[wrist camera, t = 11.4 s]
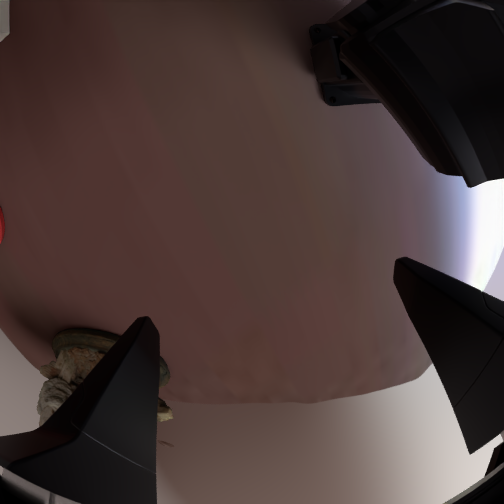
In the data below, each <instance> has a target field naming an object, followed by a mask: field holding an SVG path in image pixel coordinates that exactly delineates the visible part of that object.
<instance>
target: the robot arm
mask: <svg viewBox="0 0 504 504" xmlns="http://www.w3.org/2000/svg"><path fill="white" fill-rule="evenodd" d="M315 28H316V29H318V30H319V33H316V32H315V31H314V29H315ZM309 33H310V37H311V40H312V44H313V47H312V48H311V49H310V51H311V56H312V60H313V64H314V69H315V73H316V78H317V81H319V82H320V83H321V84H322V90H323V95H324V100H325V103H326V104H327V105H329V106H341V105H353V104H367V103H382V104H383V105H384V107H385V108H386V109H387V110H388V111H389V113H390V114H391V115H392V116H393V118H394V119H395V120H396V121H397V123H398V124H399V125H400V127H401V128H402V129H403V130H404V132H405V133H406V134H407V136H408V137H409V139H410V140H411V141H412V143H413V144H414V146H415V147H416V148H417V150H418V151H419V153H420V154H421V156H422V157H423V158H424V159H425V160H426V161H427V162H428V163H429V164H430V165H431V166H433V167H434V168H435V169H436V171H437V172H439V173H442V174H445V175H452V176H463V178H464V180H465V182H466V185H467V187H469V188H471V187H474V186H477V185H479V184H481V183H484V182H486V181H490V180H496V179H502V178H504V0H352V1H351V2H350V3H349V4H347V5H346V6H345V7H344V8H343V9H341V10H340V11H339V12H338V13H337V14H336V15H334V16H333V17H332V18H331V19H330V20H329V21H328V22H327V23H326V24H315V25H313V26H311V27H310V29H309ZM330 97H333V98H334V102H333V103H331V102H330ZM393 280H394V284H395V286H396V288H397V290H398V293H399V295H400V297H401V299H402V302H403V304H404V306H405V309H406V311H407V313H408V316H409V318H410V320H411V321H412V323H413V325H414V327H415V329H416V331H417V333H418V335H419V336H420V338H421V340H422V342H423V344H424V346H425V348H426V350H427V352H428V354H429V356H430V358H431V360H432V362H433V364H434V366H435V369H436V371H437V373H438V375H439V377H440V379H441V382H442V384H443V386H444V388H445V390H446V393H447V395H448V398H449V400H450V402H451V405H452V407H453V410H454V413H455V415H456V418H457V420H458V423H459V426H460V428H461V431H462V434H463V437H464V440H465V443H466V446H467V448H468V451H469V454H472V453H474V452H475V451H476V450H478V449H480V448H481V447H483V446H484V445H485V444H487V443H488V442H489V441H491V440H492V439H494V438H495V437H496V436H498V435H499V434H501V436H502V438H503V442H502V443H501V444H499V445H498V446H497V447H495V448H494V451H493V454H492V457H491V460H490V463H489V465H488V468H487V471H486V473H485V477H484V478H483V479H481V480H480V481H478V482H477V483H475V484H474V485H473V486H471V487H470V488H468V489H467V490H465V491H463V492H462V493H460V494H459V495H457V496H455V497H454V498H452V499H450V500H449V501H447V502H445V503H443V504H504V301H501V300H499V299H497V298H495V297H493V296H491V295H489V294H487V293H485V292H483V291H482V292H481V290H479V289H477V288H475V287H472V286H470V285H468V284H466V283H464V282H462V281H460V280H458V279H455V278H453V277H451V276H449V275H447V274H445V273H442V272H440V271H438V270H436V269H433V268H431V267H429V266H427V265H424V264H422V263H420V262H417V261H415V260H413V259H410V258H408V257H402V258H398V259H396V261H395V266H394V275H393ZM159 381H160V336H159V332H158V330H157V328H156V327H155V325H154V324H153V322H152V320H151V319H150V318H149V317H148V316H144V317H139V318H137V319H136V320H135V321H134V322H133V324H132V325H131V326H130V327H129V328H128V329H127V330H126V331H125V332H124V334H123V335H122V336H121V337H120V338H119V339H118V340H117V341H116V343H115V344H114V345H113V346H112V347H111V348H110V349H109V351H108V352H107V353H106V354H105V355H104V356H103V357H102V359H101V360H100V361H99V362H98V363H97V364H96V366H95V367H94V368H93V369H92V370H91V371H90V373H89V374H88V375H87V376H86V377H85V378H84V380H83V382H81V383H80V384H79V386H78V387H77V388H76V389H75V390H74V392H73V393H72V394H71V395H70V396H69V397H68V398H67V399H66V400H65V402H64V403H63V404H62V405H61V406H60V407H59V408H58V409H57V410H56V411H55V412H54V413H53V414H52V415H51V416H50V417H49V418H48V419H47V420H46V422H45V423H44V424H43V425H42V426H40V427H39V428H37V429H35V430H33V431H30V432H25V433H19V434H14V435H7V436H0V466H2V467H3V468H4V469H3V474H2V476H1V475H0V504H157V492H156V474H155V473H156V434H157V411H158V394H159Z"/></svg>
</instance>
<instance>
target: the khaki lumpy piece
mask: <svg viewBox="0 0 504 504" xmlns="http://www.w3.org/2000/svg"><path fill="white" fill-rule="evenodd" d="M119 338H120V337H119V336H117V335H115V334H112V333H108V332H103V331H98V330H92V329H68V330H64V331H62V332H59V333H58V335H56V336H55V338H54V339H53V342H52V349H53V351H54V353H55V357H56V359H57V360H56V362H54V361H52V362H50V364H49V365H44V366H41V368H40V373H41V374H42V375H43V376H45V377H46V378H48V379H49V380H48V381H45V382H44V384H43V387H42V389H41V391H40V394H39V401H38V405H37V411H38V414H40V422H39V426H42V425H43V424H44V423H45V422H46V420H47V419H48V418H49V417H50V416H51V415H52V414H53V413H54V412H55V411H56V410H57V409H58V408H59V407H60V406H61V405H62V404H63V403H64V402H65V400H66V399H67V398H68V397H69V396H70V395H71V394H72V393H73V392H74V390H75V389H76V388H77V387H78V386H79V384H80V383H81V382H83V380H84V378H85V377H86V376H87V375H88V374H89V373H90V371H91V370H92V369H93V368H94V367H95V366H96V364H97V363H98V362H99V361H100V360H101V359H102V357H103V356H104V355H105V354H106V353H107V352H108V351H109V349H110V348H111V347H112V346H113V345H114V344H115V343H116V341H117V340H118V339H119ZM169 379H170V372H169V369H168V367H167V364H166V363H165V361H164V360H163V358H162V357H160V381H159V389H160V388H162V387H164V386H165V385H166V384H167V383H168V382H169ZM169 419H173V415H172V410H171V409H170V407H168V406H167V405H166V403H165V401H163V400H162V399H160V398H159V397H158V411H157V421H159V422H162V421H163V420H166V421H168V420H169Z"/></svg>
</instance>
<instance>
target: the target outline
mask: <svg viewBox="0 0 504 504" xmlns="http://www.w3.org/2000/svg"><path fill="white" fill-rule="evenodd" d="M8 34H10V28H9V0H0V42H1V41H2V40H3V39H4V38H5V37H6V36H7V35H8Z"/></svg>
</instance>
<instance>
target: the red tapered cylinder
mask: <svg viewBox="0 0 504 504" xmlns="http://www.w3.org/2000/svg"><path fill="white" fill-rule="evenodd" d="M4 232H5V223H4V217H3V213H2V210H1V207H0V243H1V242H2V240H3V237H4Z"/></svg>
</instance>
